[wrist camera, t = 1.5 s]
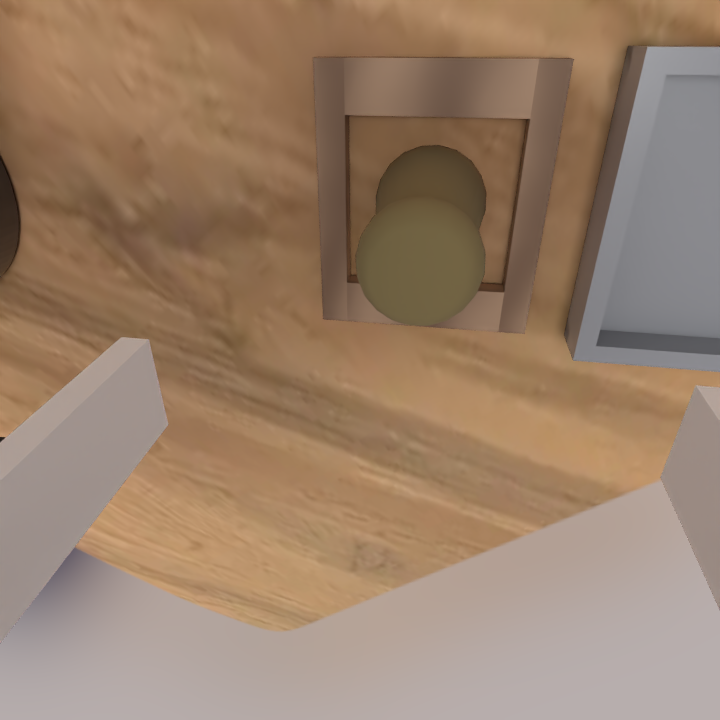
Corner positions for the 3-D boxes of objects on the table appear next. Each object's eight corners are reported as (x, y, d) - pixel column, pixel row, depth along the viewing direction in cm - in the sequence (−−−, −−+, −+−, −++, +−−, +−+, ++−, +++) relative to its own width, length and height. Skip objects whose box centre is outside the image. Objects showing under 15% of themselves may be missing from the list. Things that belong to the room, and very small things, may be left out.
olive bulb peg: (504, 225, 30) (525, 311, 20) (407, 272, 32) (386, 370, 23) (456, 122, 27) (454, 165, 18) (355, 181, 30) (308, 246, 20)
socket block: (327, 310, 34) (323, 319, 33) (318, 56, 27) (313, 57, 26) (522, 324, 32) (524, 333, 31) (569, 58, 25) (573, 58, 24)
